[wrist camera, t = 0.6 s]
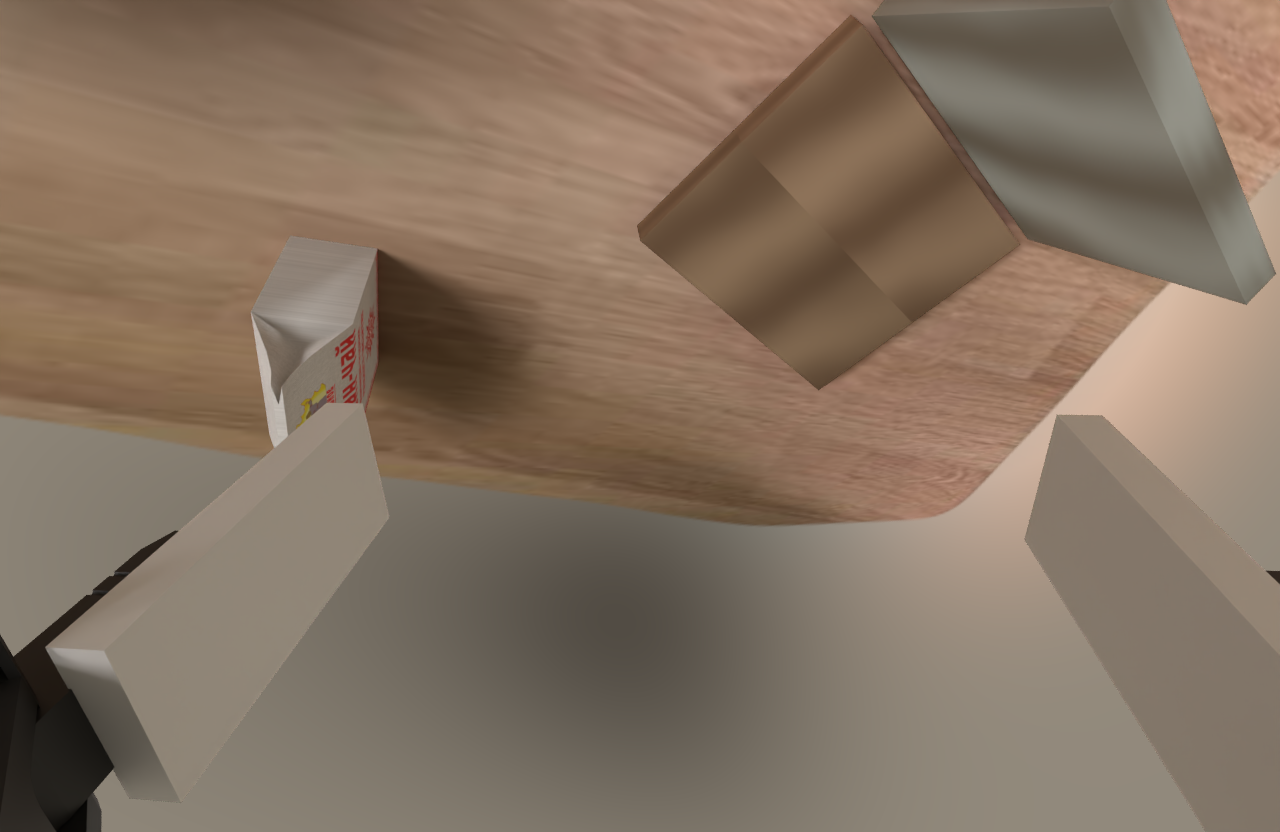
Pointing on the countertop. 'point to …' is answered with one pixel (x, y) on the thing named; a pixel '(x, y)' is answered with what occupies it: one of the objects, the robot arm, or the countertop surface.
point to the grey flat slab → (1089, 131)
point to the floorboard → (830, 213)
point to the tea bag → (316, 330)
